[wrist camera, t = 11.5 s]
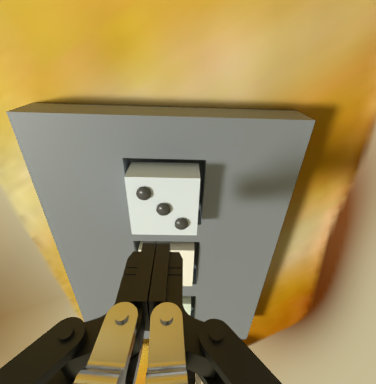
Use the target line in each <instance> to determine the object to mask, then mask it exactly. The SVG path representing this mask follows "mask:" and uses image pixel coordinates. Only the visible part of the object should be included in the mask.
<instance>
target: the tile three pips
mask: <svg viewBox="0 0 376 384" xmlns="http://www.w3.org/2000/svg"><path fill="white" fill-rule="evenodd" d="M124 178H125V186H126V194H127V201H128V209H129V217H130V224H131V232H132V234H137V235H197V223H198V208H199V193H200V170H199V163H163V162H131V164H130V166H129V168H128V170H127V172H126V174H125V176H124Z"/></svg>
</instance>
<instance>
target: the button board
mask: <svg viewBox="0 0 376 384" xmlns="http://www.w3.org/2000/svg"><path fill="white" fill-rule="evenodd" d="M7 114H8V117H9V120H10V122H11V125H12V128H13V131H14V133H15V136H16V139H17V141H18V144H19V147H20V149H21V152H22V155H23V157H24V160H25V163H26V165H27V168H28V171H29V174H30V176H31V179H32V182H33V184H34V187H35V190H36V192H37V195H38V198H39V200H40V203H41V206H42V208H43V211H44V214H45V216H46V219H47V222H48V225H49V227H50V230H51V233H52V235H53V238H54V241H55V243H56V246H57V249H58V251H59V254H60V257H61V259H62V262H63V265H64V268H65V270H66V273H67V276H68V278H69V281H70V284H71V286H72V289H73V292H74V294H75V297H76V300H77V302H78V305H79V308H80V310H81V313H82V316H83V319H84V321H85V322H87V321H90V320H93V319H96V318H99V317H101V316H103V315H105V314H106V313H107V312H108V311H109V309H110V308H111V307H113V306H114V304H115V301H116V298H117V294H118V290H119V287H120V283H121V280H122V276H123V273H124V269H125V266H126V262H127V259H128V257H129V256H130V255H131V254H132V252H133V251H138V248H139V244H140V241H172V242H194V266H193V282H192V286H183V296H191V314H190V316H191V317H193V318H195V319H198V320H201V321H203V322H205V321H206V320H209V319H219V320H222V321H223V322H225V323H226V324H227V325H228V326H229V327H230V328H231V329H232V330H233V331H234V332H235V333H236V335H237V336H238V337H239V338H240V339H247V336H248V332H249V329H250V326H251V323H252V320H253V317H254V314H255V310H256V307H257V304H258V301H259V298H260V295H261V291H262V288H263V285H264V282H265V279H266V276H267V272H268V269H269V266H270V263H271V260H272V257H273V253H274V250H275V247H276V244H277V241H278V238H279V235H280V231H281V228H282V225H283V222H284V219H285V216H286V212H287V209H288V206H289V203H290V200H291V197H292V193H293V190H294V187H295V184H296V181H297V178H298V174H299V171H300V168H301V165H302V162H303V159H304V156H305V152H306V149H307V146H308V143H309V140H310V137H311V133H312V130H313V127H314V124H315V121H316V120H314V119H312V118H310V117H308V116H306V115H304V114H303V113H301V112H299V111H297V110H266V109H232V108H197V107H163V106H128V105H94V104H59V103H31V104H28V105H25V106H22V107H19V108H16V109H13V110H10V111H7ZM131 162H163V163H199V170H200V193H199V208H198V223H197V235H137V234H132V232H131V224H130V217H129V209H128V201H127V194H126V186H125V178H124V176H125V174H126V172H127V170H128V168H129V166H130V164H131ZM149 335H150V331H145V332H144V339H149Z"/></svg>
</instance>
